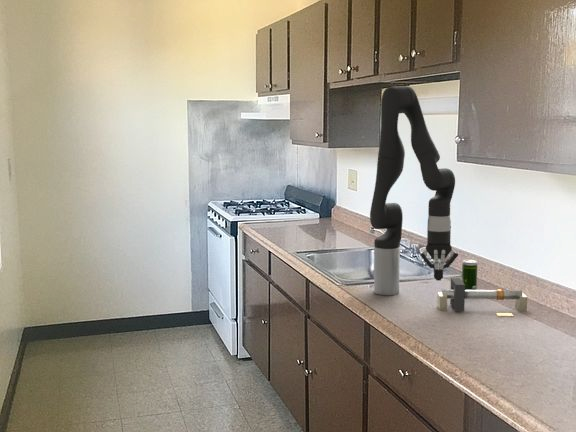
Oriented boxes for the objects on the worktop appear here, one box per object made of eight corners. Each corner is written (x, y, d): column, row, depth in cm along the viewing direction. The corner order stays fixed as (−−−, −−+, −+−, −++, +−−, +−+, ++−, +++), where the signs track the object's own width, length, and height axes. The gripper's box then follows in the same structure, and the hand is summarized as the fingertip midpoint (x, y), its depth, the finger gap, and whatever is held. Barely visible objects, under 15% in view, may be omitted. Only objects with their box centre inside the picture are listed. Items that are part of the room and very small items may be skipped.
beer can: (479, 292, 237) (480, 261, 236) (472, 295, 234) (473, 263, 232) (465, 290, 241) (466, 258, 239) (458, 293, 237) (459, 261, 235)
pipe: (442, 316, 210) (443, 295, 209) (437, 306, 221) (437, 287, 220) (532, 317, 208) (532, 296, 207) (522, 307, 219) (523, 287, 218)
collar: (455, 311, 214) (455, 284, 212) (450, 303, 223) (450, 278, 221) (464, 311, 213) (465, 284, 212) (459, 303, 222) (459, 278, 221)
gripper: (457, 227, 218) (456, 277, 220) (417, 227, 219) (416, 277, 221) (461, 230, 210) (460, 282, 212) (420, 230, 211) (419, 282, 214)
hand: (438, 279), depth 217 cm, fingers closed
